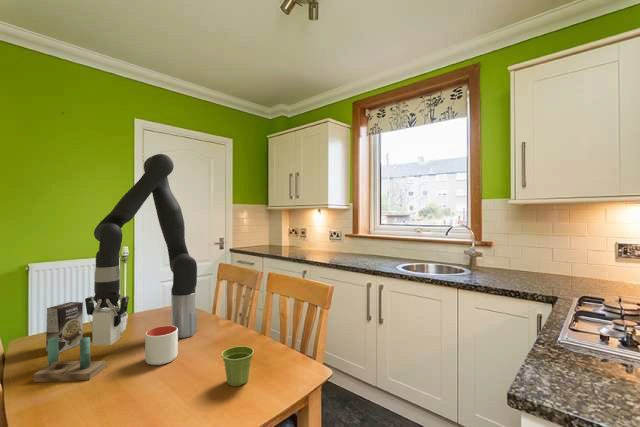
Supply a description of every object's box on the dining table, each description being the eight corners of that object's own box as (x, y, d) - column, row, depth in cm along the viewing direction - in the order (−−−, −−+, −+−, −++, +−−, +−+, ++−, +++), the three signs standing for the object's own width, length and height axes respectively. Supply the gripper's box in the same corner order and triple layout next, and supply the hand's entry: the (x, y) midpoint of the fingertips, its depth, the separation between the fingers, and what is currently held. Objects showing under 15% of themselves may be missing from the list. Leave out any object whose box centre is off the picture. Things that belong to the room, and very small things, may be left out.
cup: (184, 356, 109) (184, 328, 109) (158, 369, 100) (158, 338, 100) (164, 351, 113) (164, 324, 113) (138, 363, 104) (138, 333, 104)
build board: (80, 367, 101) (80, 360, 101) (61, 380, 93) (61, 372, 93) (54, 368, 100) (54, 361, 100) (33, 381, 92) (33, 373, 92)
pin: (60, 364, 104) (60, 337, 104) (54, 367, 101) (54, 340, 101) (52, 364, 103) (52, 337, 104) (45, 368, 101) (45, 340, 101)
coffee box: (59, 353, 112) (59, 308, 112) (45, 352, 113) (45, 307, 113) (83, 343, 121) (83, 302, 121) (70, 342, 122) (70, 301, 122)
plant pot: (227, 373, 98) (227, 345, 98) (257, 373, 97) (257, 345, 97) (216, 389, 88) (216, 359, 88) (249, 390, 88) (249, 359, 88)
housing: (120, 338, 113) (120, 308, 114) (110, 344, 107) (110, 313, 108) (103, 338, 113) (103, 308, 113) (92, 345, 107) (92, 313, 107)
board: (106, 367, 102) (106, 333, 102) (89, 379, 94) (89, 343, 94) (80, 367, 101) (80, 334, 101) (61, 380, 93) (62, 344, 93)
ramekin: (120, 325, 140) (120, 310, 141) (133, 331, 133) (133, 315, 133) (85, 334, 130) (85, 318, 130) (97, 342, 122) (97, 324, 122)
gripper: (133, 276, 115) (133, 322, 114) (93, 277, 114) (92, 322, 114) (122, 280, 107) (121, 329, 107) (78, 281, 106) (78, 330, 106)
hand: (106, 325), depth 110 cm, fingers closed on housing, 6 cm apart
